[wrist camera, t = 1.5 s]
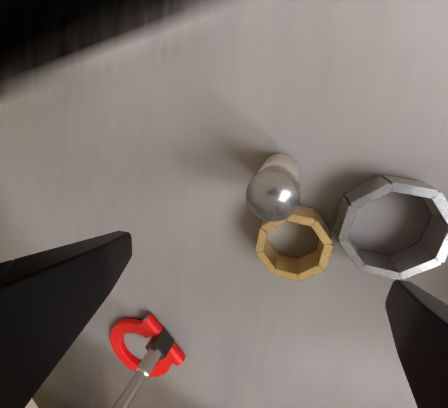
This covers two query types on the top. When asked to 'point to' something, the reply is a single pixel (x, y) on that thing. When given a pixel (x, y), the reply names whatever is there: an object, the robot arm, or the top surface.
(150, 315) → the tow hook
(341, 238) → the wide steel socket
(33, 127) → the top surface
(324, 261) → the small brass socket
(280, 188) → the round-tipped metal peg
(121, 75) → the top surface
